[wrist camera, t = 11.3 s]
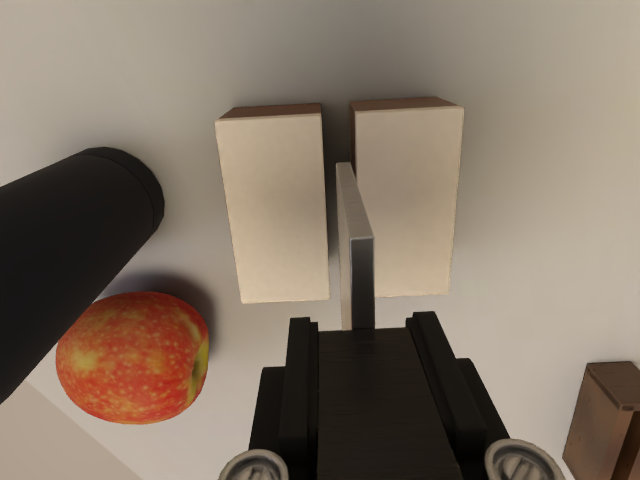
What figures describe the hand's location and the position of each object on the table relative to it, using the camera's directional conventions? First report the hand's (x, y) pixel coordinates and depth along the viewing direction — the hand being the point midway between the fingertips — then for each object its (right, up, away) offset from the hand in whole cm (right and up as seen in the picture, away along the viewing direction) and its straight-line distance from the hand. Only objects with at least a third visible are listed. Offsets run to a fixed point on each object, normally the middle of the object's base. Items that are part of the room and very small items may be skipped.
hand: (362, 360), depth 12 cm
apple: (-13, -2, +19) cm, 23 cm away
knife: (0, +3, +7) cm, 8 cm away
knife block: (+21, -11, +22) cm, 32 cm away
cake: (-3, +6, +15) cm, 16 cm away
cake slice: (+3, +7, +14) cm, 16 cm away
